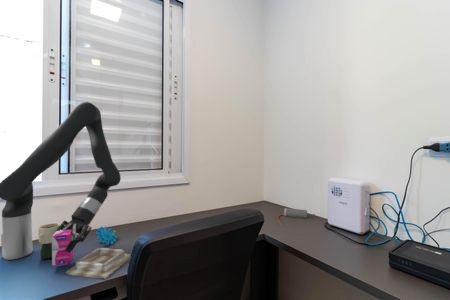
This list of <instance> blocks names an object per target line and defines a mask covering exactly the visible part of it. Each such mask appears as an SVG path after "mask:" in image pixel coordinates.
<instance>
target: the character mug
mask: <svg viewBox="0 0 450 300" xmlns="http://www.w3.org/2000/svg"><path fill="white" fill-rule="evenodd" d="M60 225H61V224H60V223H58V222H51V223H46V224H43V225H40V226H38V232H37V233H38V242H39V244H42V245H41V250H40V259H50V258H51V259H52V248H51V247H50V245H51V243H52V236H53V235H54V232H55V231H56V230H57V229H58V227H59V226H60Z"/></svg>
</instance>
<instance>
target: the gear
mask: <svg viewBox="0 0 450 300" xmlns="http://www.w3.org/2000/svg"><path fill="white" fill-rule="evenodd" d="M107 229H108V230H107ZM116 233H117V231H116V230H113V231H112V228H108V226H100V227H99V228H97V229H96V233H95V236H97V240H98V241H99V242H98V243H99V244H104V243H105V244H104V245H106V246H109V245H113V244H114V243H115V242H116V241H117V239H116V238H117V235H115V234H116Z"/></svg>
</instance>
